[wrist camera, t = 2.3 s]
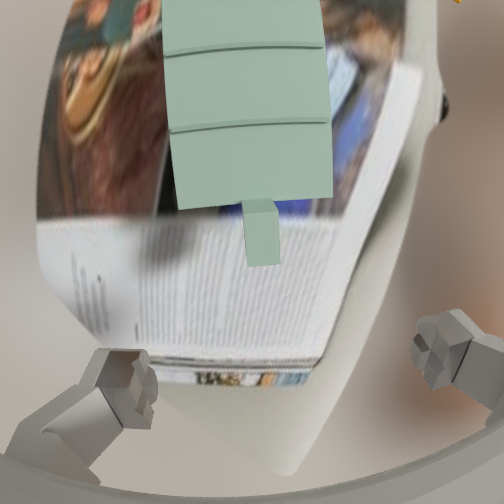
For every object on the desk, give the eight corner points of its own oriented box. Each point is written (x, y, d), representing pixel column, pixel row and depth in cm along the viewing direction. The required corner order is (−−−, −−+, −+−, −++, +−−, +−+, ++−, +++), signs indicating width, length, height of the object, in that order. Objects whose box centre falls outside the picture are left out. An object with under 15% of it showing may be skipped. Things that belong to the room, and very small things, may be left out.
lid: (163, -6, 13) (150, -29, 10) (314, -14, 13) (329, -37, 10) (186, 248, 20) (177, 272, 16) (329, 235, 20) (347, 257, 17)
